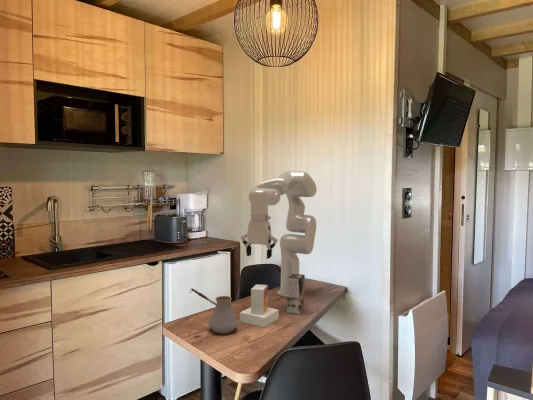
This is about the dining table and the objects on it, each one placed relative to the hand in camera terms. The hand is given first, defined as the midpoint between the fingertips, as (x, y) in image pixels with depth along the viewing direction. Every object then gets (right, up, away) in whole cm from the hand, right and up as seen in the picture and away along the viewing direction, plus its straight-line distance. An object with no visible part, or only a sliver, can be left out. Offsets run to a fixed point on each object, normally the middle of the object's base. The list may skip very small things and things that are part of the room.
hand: (258, 256), depth 175 cm
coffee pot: (-18, -27, -14) cm, 36 cm away
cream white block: (0, -27, -4) cm, 27 cm away
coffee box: (+17, -26, +9) cm, 32 cm away
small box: (0, -23, -5) cm, 23 cm away
